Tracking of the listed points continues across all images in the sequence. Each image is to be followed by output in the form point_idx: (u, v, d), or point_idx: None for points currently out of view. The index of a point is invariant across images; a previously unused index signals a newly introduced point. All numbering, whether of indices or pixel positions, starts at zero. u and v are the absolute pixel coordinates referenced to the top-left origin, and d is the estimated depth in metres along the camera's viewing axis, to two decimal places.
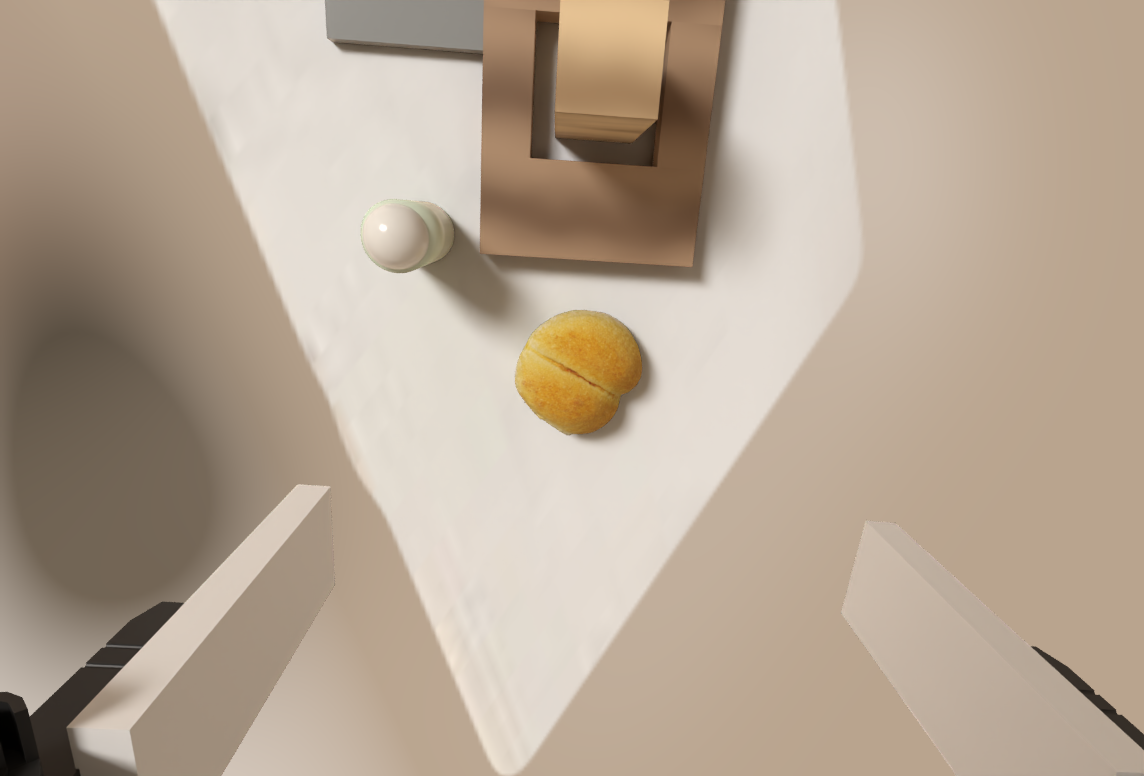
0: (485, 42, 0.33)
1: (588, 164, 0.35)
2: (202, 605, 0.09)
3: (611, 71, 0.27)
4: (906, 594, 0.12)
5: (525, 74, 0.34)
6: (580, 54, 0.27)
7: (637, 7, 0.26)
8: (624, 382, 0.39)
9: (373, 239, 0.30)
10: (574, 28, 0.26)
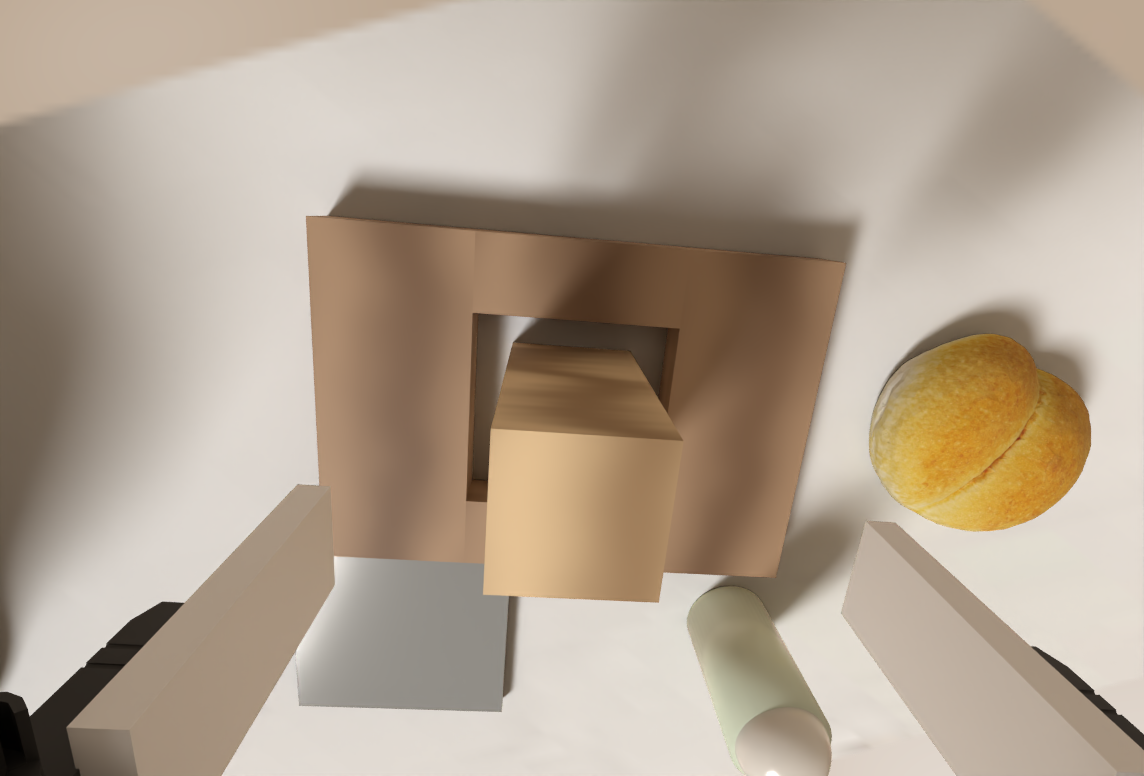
0: None
1: None
2: (202, 605, 0.09)
3: (601, 518, 0.15)
4: (907, 594, 0.12)
5: None
6: (575, 566, 0.16)
7: (503, 480, 0.15)
8: (1029, 379, 0.22)
9: None
10: (535, 575, 0.16)
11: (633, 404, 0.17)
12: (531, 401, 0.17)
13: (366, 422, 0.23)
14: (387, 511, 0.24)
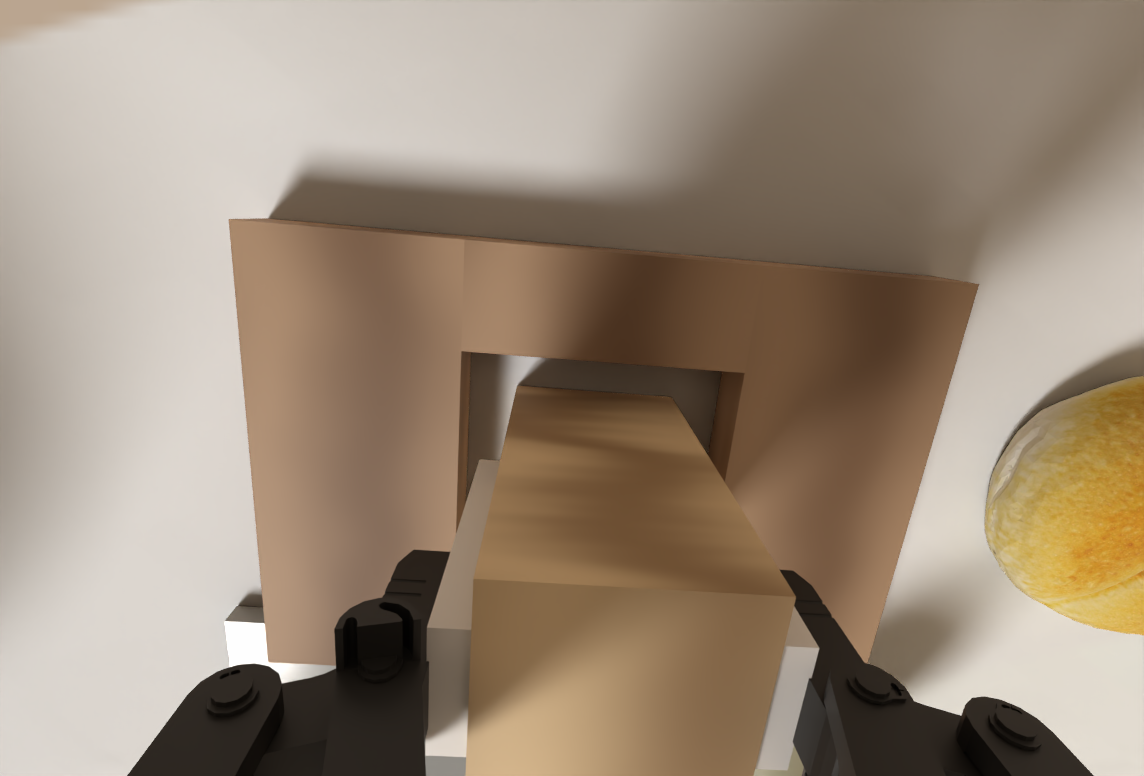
0: None
1: None
2: (466, 548, 0.11)
3: (654, 712, 0.09)
4: None
5: None
6: None
7: (494, 657, 0.09)
8: None
9: None
10: None
11: (696, 505, 0.11)
12: (542, 504, 0.11)
13: (320, 495, 0.17)
14: None
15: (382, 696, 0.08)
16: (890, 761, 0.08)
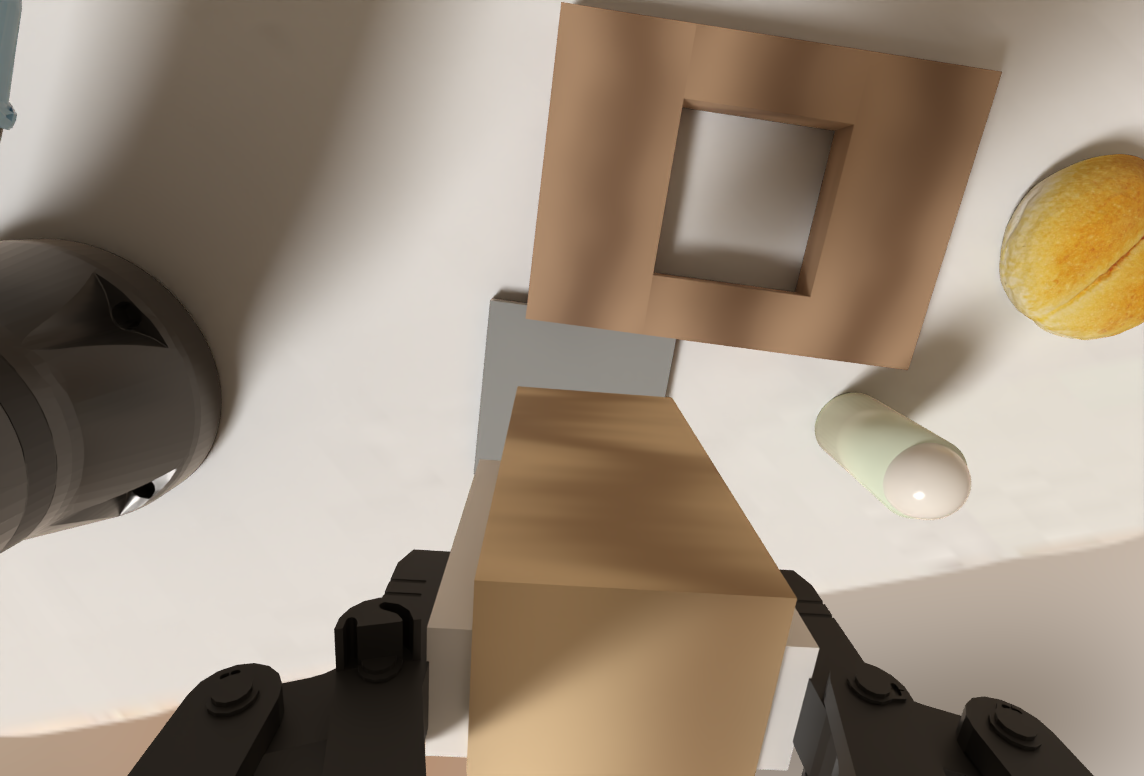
0: (678, 336, 0.29)
1: (832, 221, 0.27)
2: (466, 548, 0.11)
3: (655, 713, 0.09)
4: None
5: (717, 293, 0.28)
6: None
7: (495, 659, 0.09)
8: None
9: (942, 512, 0.24)
10: None
11: (697, 506, 0.11)
12: (542, 505, 0.11)
13: (581, 194, 0.27)
14: (586, 280, 0.28)
15: (382, 696, 0.08)
16: (890, 761, 0.08)
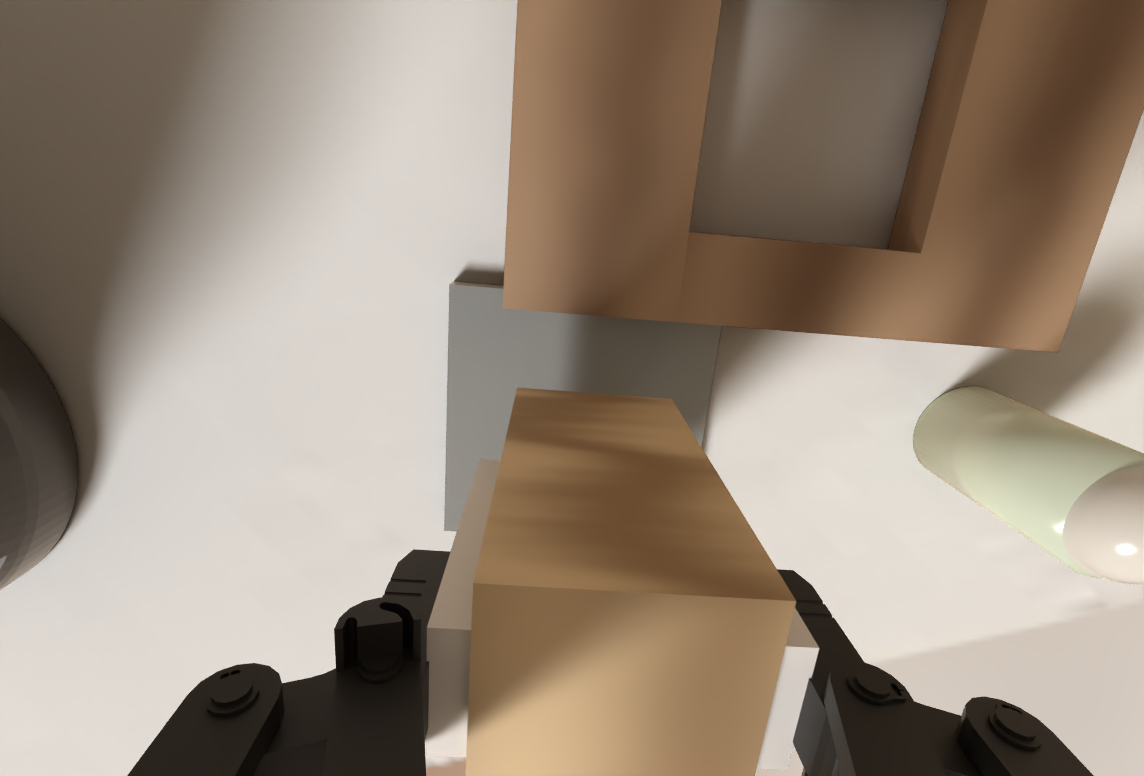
0: (729, 322, 0.20)
1: (956, 136, 0.18)
2: (466, 548, 0.11)
3: (654, 716, 0.09)
4: None
5: (785, 255, 0.19)
6: None
7: (494, 661, 0.09)
8: None
9: None
10: None
11: (696, 508, 0.11)
12: (542, 508, 0.11)
13: (576, 112, 0.18)
14: (589, 245, 0.19)
15: (382, 696, 0.08)
16: (890, 761, 0.08)
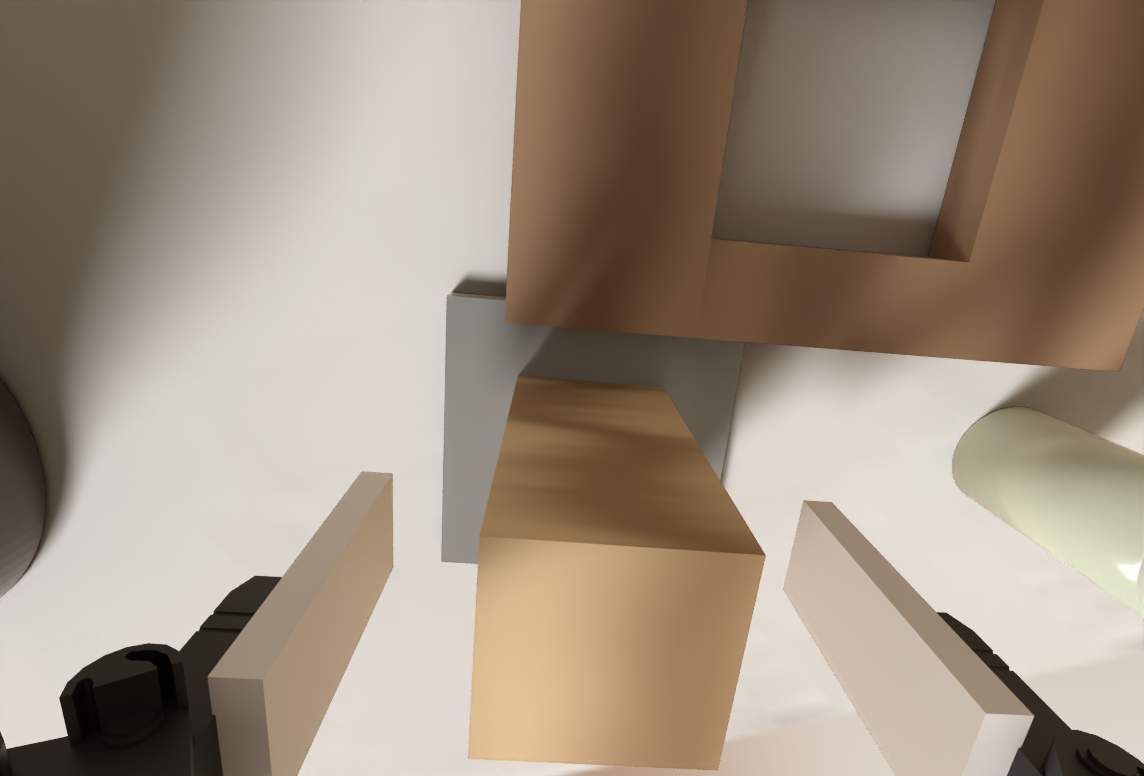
0: (755, 338, 0.18)
1: (1011, 132, 0.16)
2: (300, 576, 0.10)
3: (640, 660, 0.11)
4: (833, 567, 0.13)
5: (818, 264, 0.17)
6: (600, 723, 0.11)
7: (497, 608, 0.10)
8: None
9: None
10: (543, 734, 0.11)
11: (681, 480, 0.13)
12: (540, 477, 0.12)
13: (586, 106, 0.16)
14: (601, 253, 0.17)
15: (135, 760, 0.07)
16: None
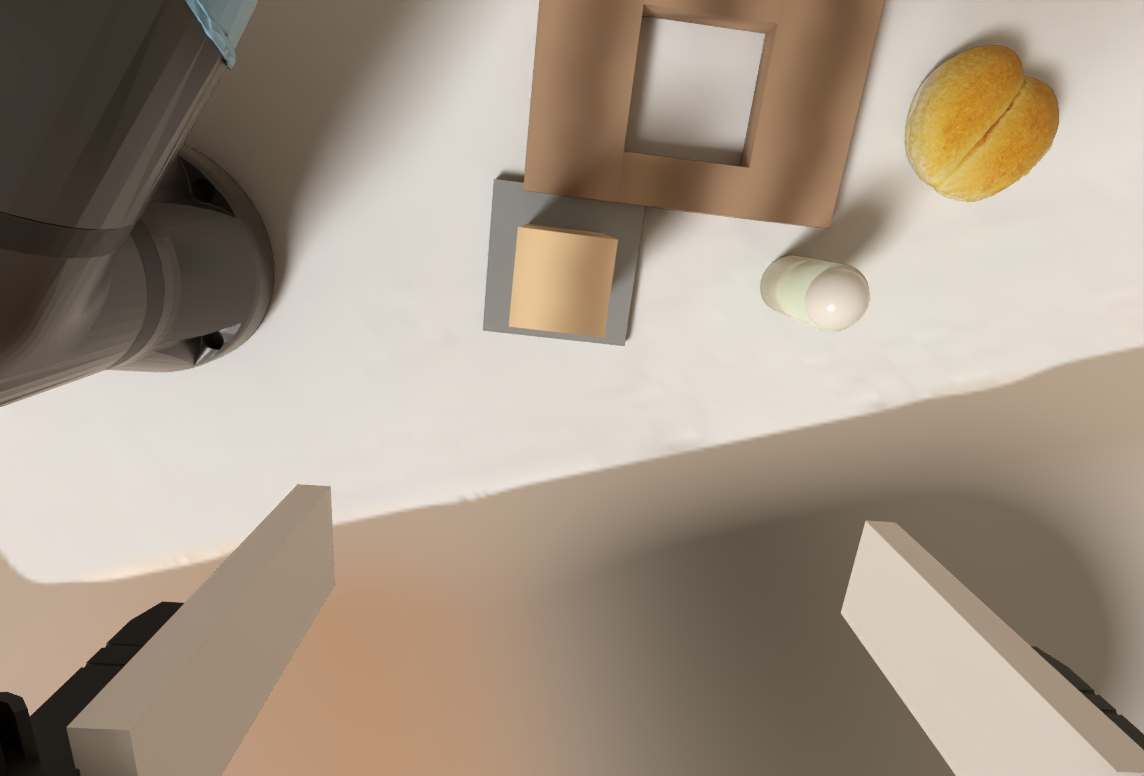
0: (646, 203, 0.36)
1: (764, 104, 0.35)
2: (202, 605, 0.09)
3: (573, 283, 0.29)
4: (906, 594, 0.12)
5: (675, 166, 0.35)
6: (559, 312, 0.29)
7: (522, 257, 0.28)
8: (1016, 65, 0.34)
9: (847, 317, 0.32)
10: (537, 316, 0.29)
11: (596, 235, 0.31)
12: (539, 228, 0.30)
13: (565, 84, 0.34)
14: (570, 156, 0.35)
15: None
16: None
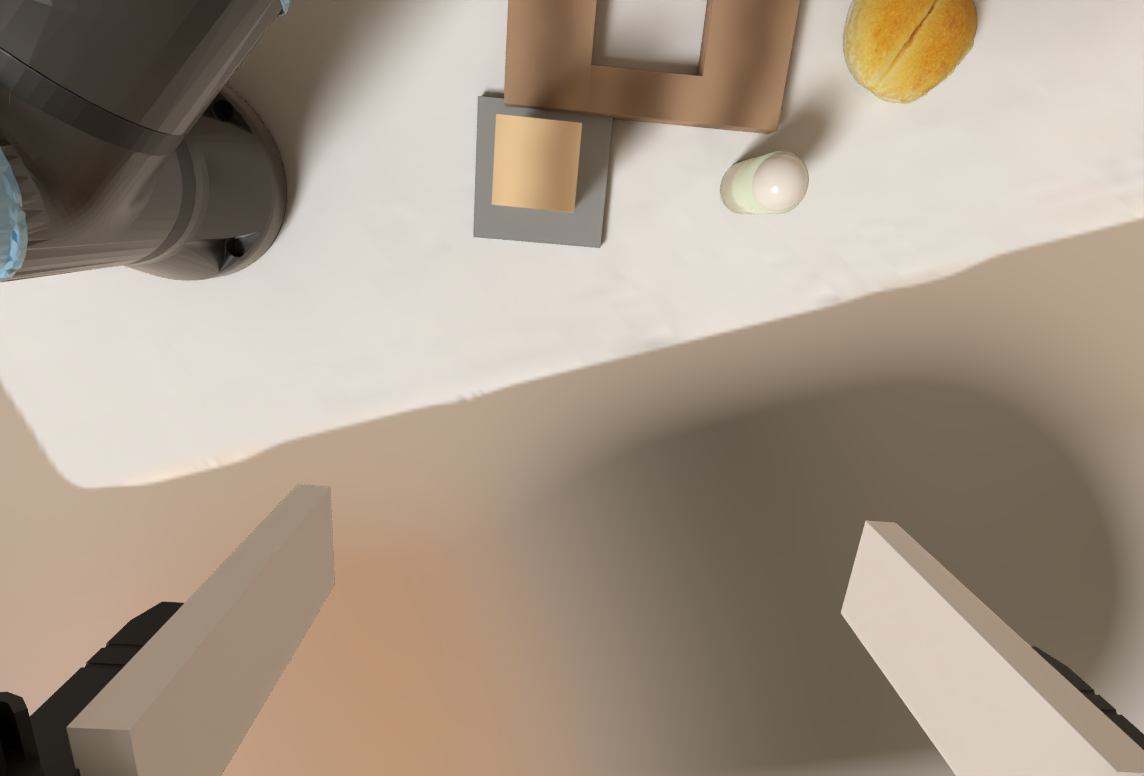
0: (612, 111, 0.41)
1: (712, 17, 0.39)
2: (202, 605, 0.09)
3: (546, 163, 0.34)
4: (907, 595, 0.12)
5: (637, 76, 0.40)
6: (534, 190, 0.34)
7: (501, 141, 0.33)
8: None
9: (787, 195, 0.37)
10: (516, 194, 0.34)
11: None
12: None
13: (537, 5, 0.39)
14: (544, 70, 0.40)
15: None
16: None
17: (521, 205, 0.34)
